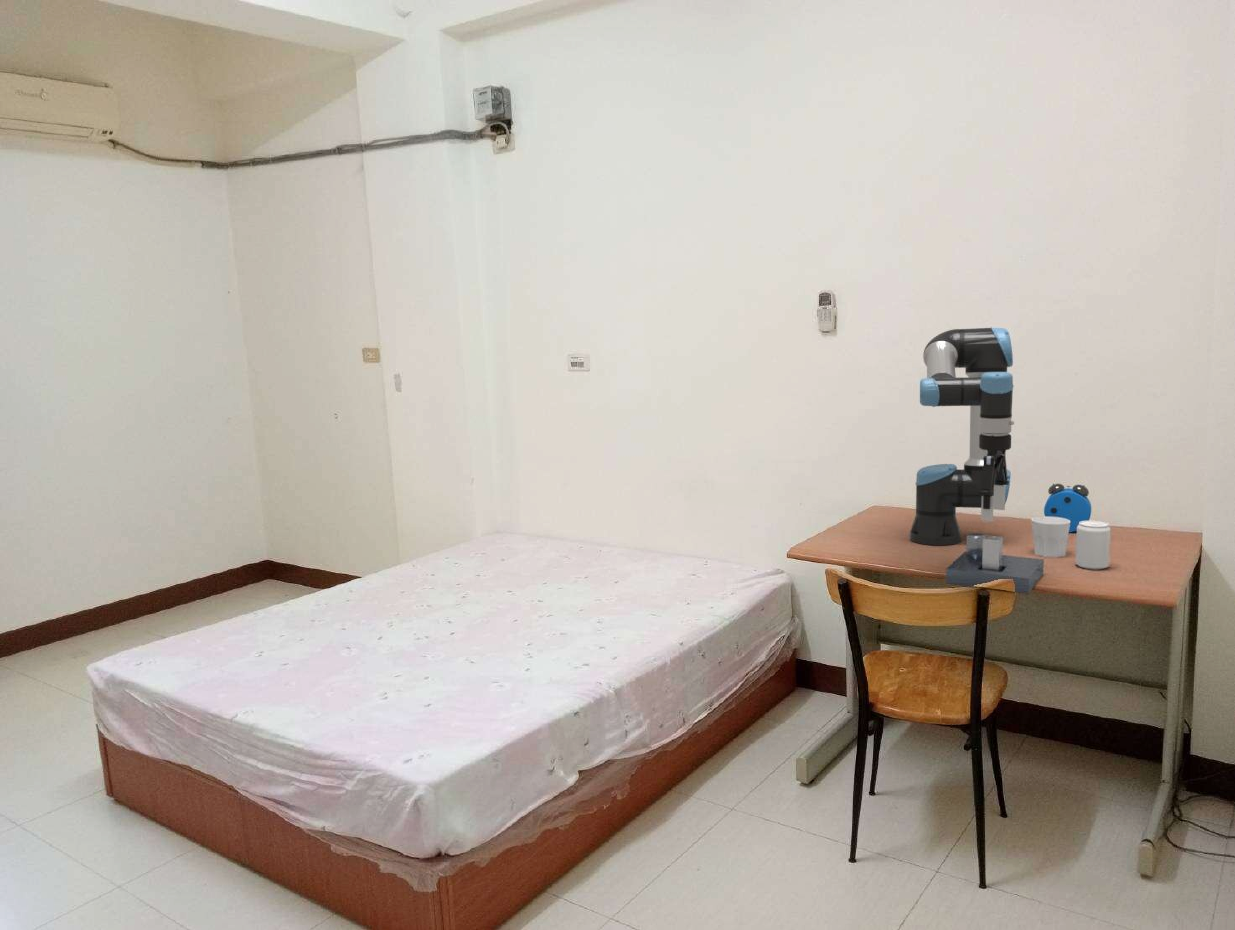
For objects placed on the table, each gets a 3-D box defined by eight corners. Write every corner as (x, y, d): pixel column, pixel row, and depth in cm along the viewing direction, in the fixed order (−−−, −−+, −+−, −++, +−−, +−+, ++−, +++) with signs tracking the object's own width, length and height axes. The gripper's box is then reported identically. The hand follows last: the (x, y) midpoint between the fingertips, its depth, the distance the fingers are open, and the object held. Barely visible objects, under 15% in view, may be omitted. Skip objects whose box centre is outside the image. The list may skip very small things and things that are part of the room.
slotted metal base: (945, 583, 236) (946, 546, 234) (965, 565, 252) (965, 530, 251) (1028, 594, 225) (1029, 555, 223) (1043, 573, 241) (1044, 537, 239)
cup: (1022, 552, 263) (1023, 519, 261) (1047, 547, 266) (1049, 515, 265) (1051, 560, 253) (1052, 525, 252) (1077, 555, 257) (1078, 521, 256)
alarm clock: (1090, 530, 285) (1092, 483, 282) (1089, 534, 279) (1091, 487, 277) (1044, 527, 291) (1046, 481, 289) (1043, 531, 286) (1044, 484, 283)
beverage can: (1069, 563, 250) (1070, 521, 248) (1097, 561, 250) (1099, 519, 248) (1086, 571, 242) (1088, 527, 240) (1115, 569, 242) (1117, 525, 240)
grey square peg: (981, 583, 235) (982, 538, 233) (985, 579, 238) (986, 535, 236) (998, 585, 232) (999, 540, 231) (1001, 581, 236) (1002, 536, 234)
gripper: (1000, 441, 217) (997, 527, 221) (1021, 427, 237) (1018, 506, 241) (967, 440, 221) (965, 524, 225) (990, 426, 241) (988, 503, 245)
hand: (993, 515), depth 233 cm, fingers open, 13 cm apart
